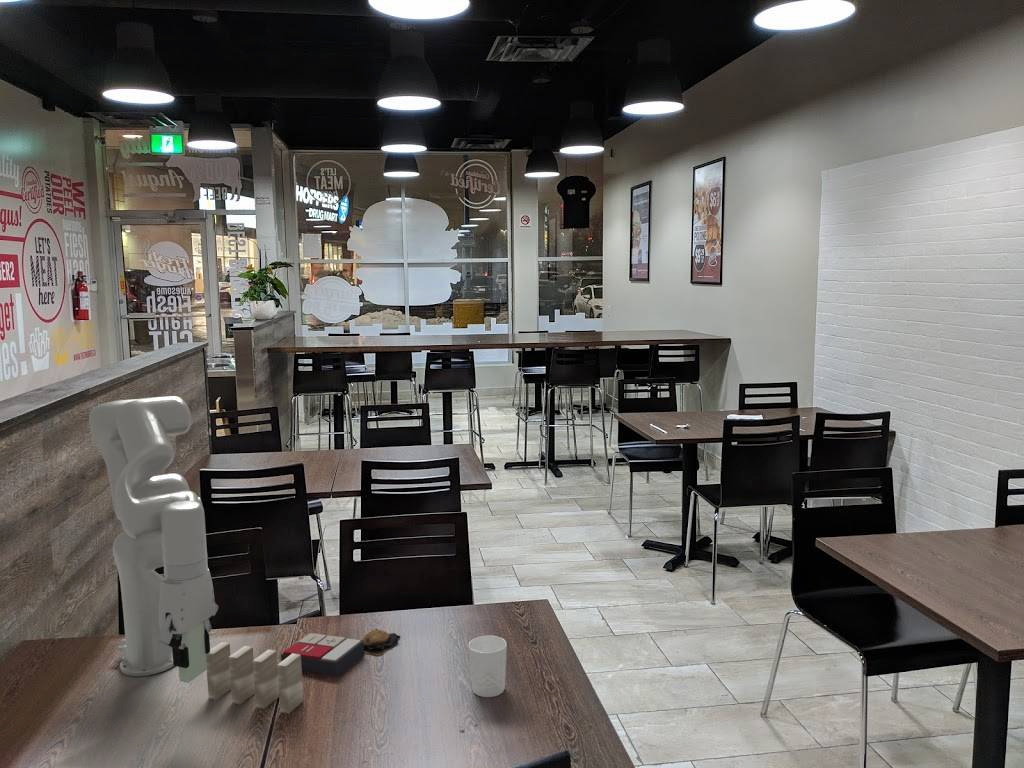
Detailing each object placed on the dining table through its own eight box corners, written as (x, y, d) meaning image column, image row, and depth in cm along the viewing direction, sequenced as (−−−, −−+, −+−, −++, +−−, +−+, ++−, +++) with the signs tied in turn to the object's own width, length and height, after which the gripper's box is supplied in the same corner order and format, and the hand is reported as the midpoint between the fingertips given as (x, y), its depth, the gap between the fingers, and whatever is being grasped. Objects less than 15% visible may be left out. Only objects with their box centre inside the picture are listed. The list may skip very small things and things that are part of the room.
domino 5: (280, 712, 155) (277, 664, 153) (294, 699, 159) (292, 653, 158) (288, 713, 154) (286, 666, 153) (303, 701, 159) (300, 654, 157)
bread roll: (380, 660, 177) (380, 644, 176) (350, 653, 180) (349, 638, 180) (405, 639, 186) (405, 625, 186) (376, 633, 190) (375, 619, 189)
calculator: (309, 630, 183) (363, 637, 178) (311, 648, 184) (365, 655, 178) (279, 651, 173) (335, 659, 168) (281, 669, 174) (337, 678, 168)
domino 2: (208, 698, 160) (205, 652, 159) (224, 686, 165) (221, 641, 164) (216, 700, 160) (213, 654, 158) (232, 687, 164) (229, 643, 163)
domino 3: (232, 703, 158) (228, 656, 157) (247, 690, 163) (244, 645, 162) (240, 704, 158) (236, 658, 156) (255, 692, 162) (252, 646, 161)
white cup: (513, 684, 164) (512, 639, 163) (497, 702, 157) (496, 655, 155) (480, 676, 167) (479, 632, 166) (462, 694, 160) (461, 648, 159)
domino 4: (255, 707, 157) (252, 660, 155) (271, 695, 161) (268, 649, 160) (264, 709, 156) (261, 662, 155) (279, 696, 161) (276, 650, 159)
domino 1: (179, 681, 146) (176, 631, 145) (198, 668, 151) (195, 619, 149) (188, 682, 145) (184, 632, 144) (206, 669, 150) (203, 621, 149)
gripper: (201, 550, 154) (206, 636, 157) (134, 582, 138) (142, 678, 141) (232, 554, 152) (237, 642, 154) (168, 588, 136) (175, 685, 138)
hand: (192, 658), depth 148 cm, fingers closed on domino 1, 4 cm apart
